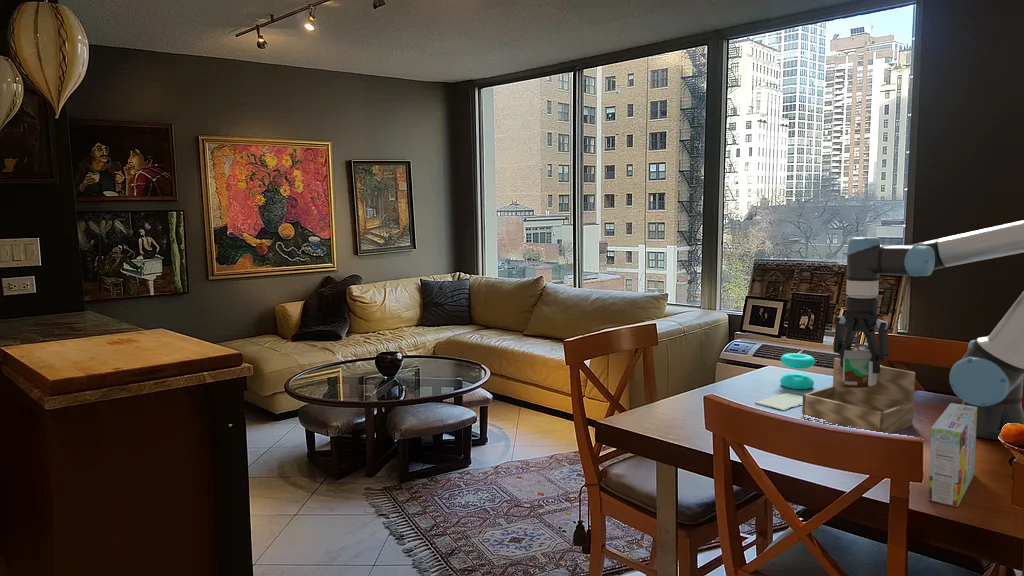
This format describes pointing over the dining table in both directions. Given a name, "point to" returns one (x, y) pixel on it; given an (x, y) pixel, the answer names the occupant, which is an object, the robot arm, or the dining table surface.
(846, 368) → the food container
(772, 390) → the dining table surface
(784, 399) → the mat
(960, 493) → the snack box
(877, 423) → the wooden box
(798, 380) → the donuts
